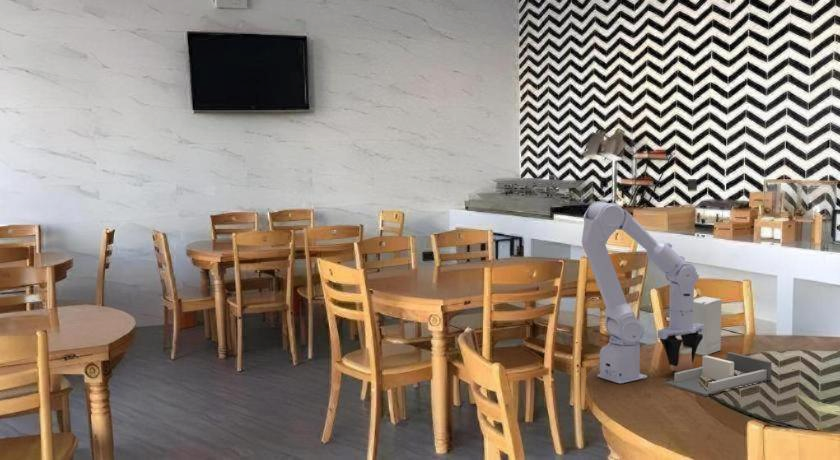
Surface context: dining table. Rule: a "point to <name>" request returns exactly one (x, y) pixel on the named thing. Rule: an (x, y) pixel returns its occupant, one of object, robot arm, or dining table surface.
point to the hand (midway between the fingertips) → (681, 363)
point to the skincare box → (708, 324)
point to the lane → (750, 374)
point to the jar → (684, 359)
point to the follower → (717, 368)
